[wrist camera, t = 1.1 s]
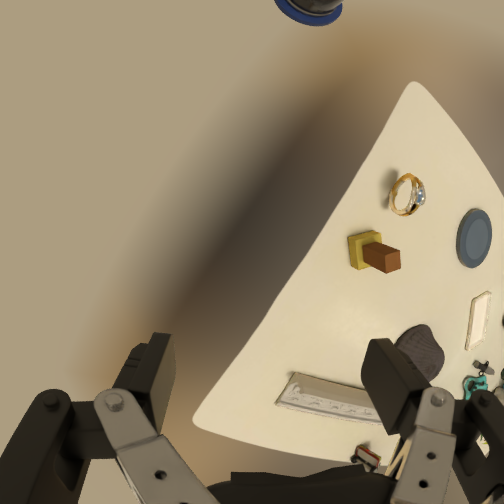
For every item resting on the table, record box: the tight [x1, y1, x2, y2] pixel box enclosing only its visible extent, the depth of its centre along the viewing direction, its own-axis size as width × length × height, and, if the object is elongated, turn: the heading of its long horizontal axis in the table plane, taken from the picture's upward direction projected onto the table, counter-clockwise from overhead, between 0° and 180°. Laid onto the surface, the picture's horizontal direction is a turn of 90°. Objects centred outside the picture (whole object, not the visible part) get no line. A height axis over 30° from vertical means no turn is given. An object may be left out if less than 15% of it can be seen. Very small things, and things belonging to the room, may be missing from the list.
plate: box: [456, 209, 492, 268], centre depth 54 cm, size 13×13×1 cm
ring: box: [389, 173, 426, 216], centre depth 44 cm, size 7×3×8 cm, turn 156°
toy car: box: [351, 445, 381, 473], centre depth 62 cm, size 8×18×8 cm
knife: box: [474, 361, 494, 376], centre depth 67 cm, size 19×2×5 cm
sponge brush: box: [348, 231, 401, 274], centre depth 45 cm, size 5×5×9 cm
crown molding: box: [276, 372, 383, 426], centre depth 54 cm, size 29×6×10 cm
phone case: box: [465, 291, 491, 351], centre depth 60 cm, size 7×1×15 cm
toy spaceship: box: [465, 376, 488, 400], centre depth 67 cm, size 11×27×5 cm, turn 51°
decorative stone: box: [494, 387, 504, 405], centre depth 70 cm, size 13×7×5 cm
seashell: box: [394, 325, 445, 382], centre depth 55 cm, size 14×19×8 cm
